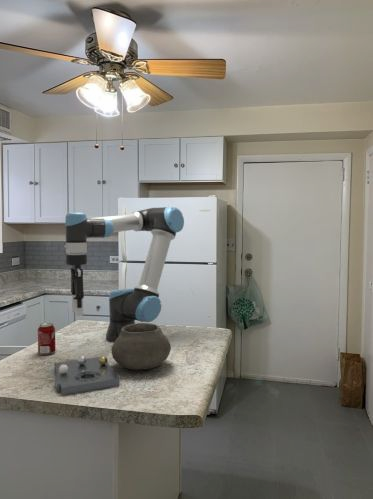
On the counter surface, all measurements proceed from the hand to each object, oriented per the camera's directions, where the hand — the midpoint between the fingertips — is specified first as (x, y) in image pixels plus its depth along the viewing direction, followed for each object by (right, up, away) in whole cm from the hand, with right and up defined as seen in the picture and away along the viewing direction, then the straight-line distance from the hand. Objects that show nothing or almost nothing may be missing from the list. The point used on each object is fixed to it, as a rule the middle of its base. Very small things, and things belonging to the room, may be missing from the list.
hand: (77, 313), depth 146 cm
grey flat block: (+6, -20, -13) cm, 24 cm away
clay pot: (+24, -20, -2) cm, 31 cm away
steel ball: (+4, -16, -7) cm, 18 cm away
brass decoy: (+11, -16, -7) cm, 21 cm away
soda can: (-16, -19, +13) cm, 28 cm away
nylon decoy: (0, -16, -16) cm, 22 cm away
